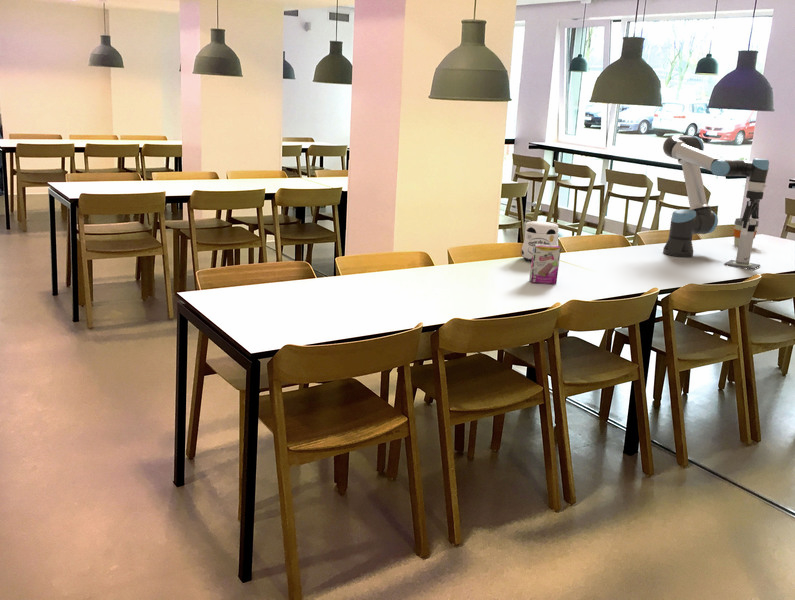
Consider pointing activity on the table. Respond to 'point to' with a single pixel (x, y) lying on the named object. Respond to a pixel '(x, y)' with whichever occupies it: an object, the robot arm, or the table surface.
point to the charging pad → (741, 265)
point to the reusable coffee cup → (738, 230)
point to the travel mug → (745, 246)
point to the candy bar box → (544, 264)
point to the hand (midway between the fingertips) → (747, 233)
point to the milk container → (538, 236)
